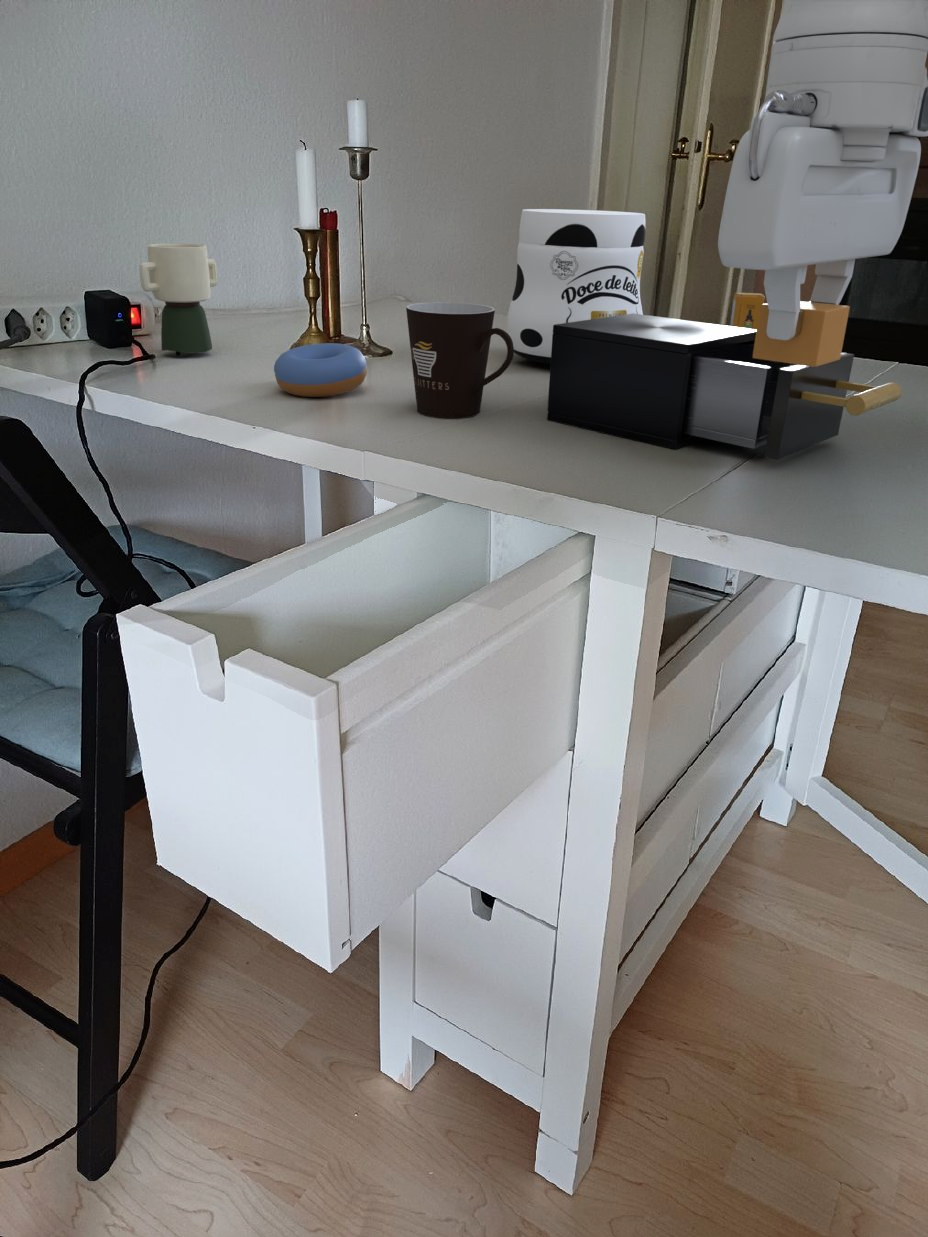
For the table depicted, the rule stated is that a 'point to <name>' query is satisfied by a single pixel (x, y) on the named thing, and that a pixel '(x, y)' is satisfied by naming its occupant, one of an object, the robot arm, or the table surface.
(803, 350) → the tan block
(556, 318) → the milk container
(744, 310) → the supplement box
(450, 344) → the coffee mug
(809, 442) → the drawer with wooden handle
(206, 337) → the character mug
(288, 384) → the doughnut
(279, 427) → the table surface
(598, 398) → the black drawer box
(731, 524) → the table surface
